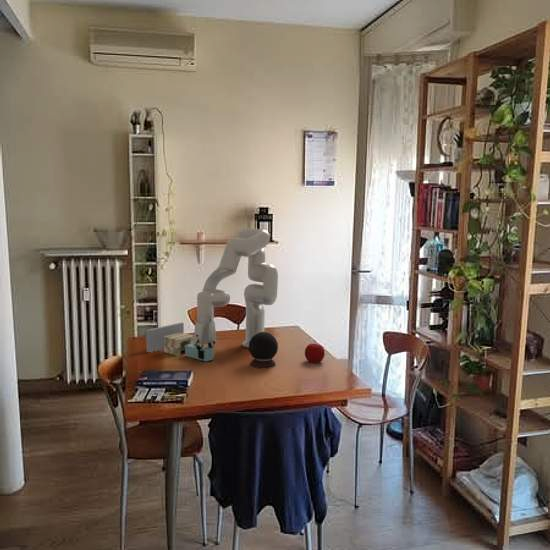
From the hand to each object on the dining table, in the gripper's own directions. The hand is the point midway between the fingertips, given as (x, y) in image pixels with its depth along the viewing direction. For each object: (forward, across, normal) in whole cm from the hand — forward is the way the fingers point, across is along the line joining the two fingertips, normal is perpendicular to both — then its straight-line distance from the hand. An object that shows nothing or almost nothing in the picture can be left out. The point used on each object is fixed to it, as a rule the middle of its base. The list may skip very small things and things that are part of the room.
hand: (205, 356), depth 246 cm
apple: (+2, -31, +40) cm, 51 cm away
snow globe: (+2, -12, +25) cm, 28 cm away
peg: (+1, 0, -4) cm, 4 cm away
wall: (+1, 0, -28) cm, 28 cm away
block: (+1, 0, -18) cm, 18 cm away
